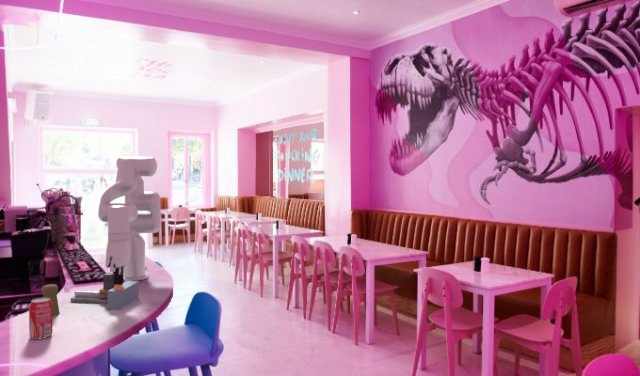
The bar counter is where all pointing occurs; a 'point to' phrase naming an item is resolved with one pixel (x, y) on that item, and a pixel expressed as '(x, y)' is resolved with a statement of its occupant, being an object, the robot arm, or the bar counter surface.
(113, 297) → the cabinet
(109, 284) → the carriage
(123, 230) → the robot arm
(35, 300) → the beverage can
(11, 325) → the bar counter surface
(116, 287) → the button
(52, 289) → the cork
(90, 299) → the rail
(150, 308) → the bar counter surface
